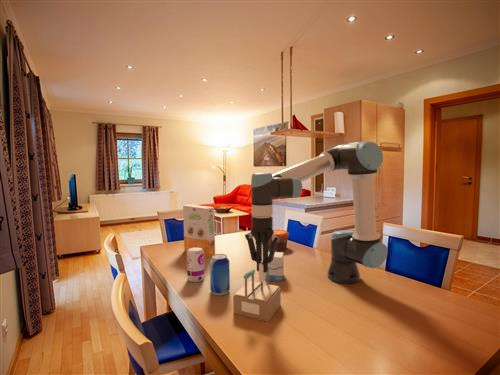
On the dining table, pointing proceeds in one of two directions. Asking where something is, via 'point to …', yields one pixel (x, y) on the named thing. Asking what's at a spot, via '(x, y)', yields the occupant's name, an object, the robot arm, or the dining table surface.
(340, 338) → the dining table surface
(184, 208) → the cereal box
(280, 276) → the ink box
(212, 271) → the beer can
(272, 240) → the robot arm
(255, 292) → the carton
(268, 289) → the near flap
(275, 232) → the food container
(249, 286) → the far flap
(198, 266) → the supplement can
